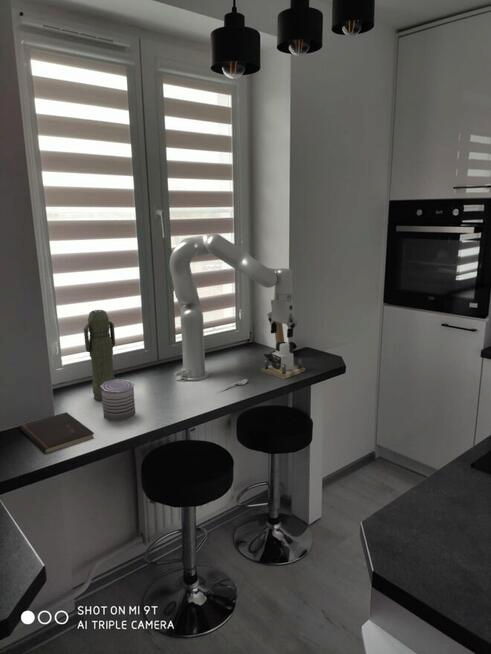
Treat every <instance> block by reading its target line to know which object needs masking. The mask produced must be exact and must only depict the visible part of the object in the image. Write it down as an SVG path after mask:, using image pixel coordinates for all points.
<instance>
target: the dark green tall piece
mask: <svg viewBox="0 0 491 654" xmlns="http://www.w3.org/2000/svg"><path fill="white" fill-rule="evenodd" d="M83 335H84V336H83V337H84V345H85V351H86V352H87V353H89V357H90V360H91V368H92V370H91V371H92V385H91V386H92V393H93V399H94V400H95V401H97V402H102V391H101V389H102V388H101V387H100V386H101V385H102V384H103V383H104V382H105V381H110V380H115V379H116V377H115V375H114V363H113V355H114V350H113V348H114V347H115V346H116V337H115V336H116V335H115V325H114V323H113V322H112V321H111V320H110V321H109V315H108V313H107V311H106V310H104V309H95V310H92V311H90V312H89V314H88V318H87V323H86V324H85V326H84V328H83Z"/></svg>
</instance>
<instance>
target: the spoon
mask: <svg viewBox="0 0 491 654" xmlns="http://www.w3.org/2000/svg"><path fill="white" fill-rule="evenodd" d="M247 383H248V379H247V378H244V379H241V380H239V381H236V382H234V383H231V384H230V385H227V386H226V387H223V388H222V389H219V390H217V391H216V392H215V394H220V393H222V392H225V391H226V390H227V389H230V388H231V387H232V386H234V385H238V386H244V385H246V384H247Z"/></svg>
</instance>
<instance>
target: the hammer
mask: <svg viewBox="0 0 491 654" xmlns="http://www.w3.org/2000/svg"><path fill="white" fill-rule="evenodd" d="M273 300H274V299H272V300H270V307H271V308H272V305H273ZM276 324H277V332H276V333H274V336H275V337H274V338H275V345H276V344H277V343H278V342H285V335H284V328H283V327H284V325H283V323H279V322H276ZM288 343H289V352H290V353H292V354H294V350H296V349H297V344H296V343H295V342H293V341H290V342H288ZM274 352H276V349H275V350H273V351H271V352H269V353H268V354H267V353H263V355H264V357H265V358H266V359H267V360H271V361H272V353H274Z"/></svg>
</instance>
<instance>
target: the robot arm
mask: <svg viewBox="0 0 491 654" xmlns="http://www.w3.org/2000/svg"><path fill="white" fill-rule="evenodd" d="M210 254H211V255H213V256H215V258H217V259H219V260H220V261H222V262H224V263H226V265H228V266H230V267H231V268H233V269H234V270H235V271H238V272H239V273H241V274H243V275H245V276H246V277H248V278H250V279H251V280H253V281H254V282H256V283H257V284H259V285H261V286H262V287H264V288H266V289H267V288H268V289H270V288H272V287H274V296H273V297H274V299H272V300H273V305H272V307H271V311H270V312H269V313H267V317H268V320H267V321H269V324H270V334H273V335H274V334H275V333H276V332H277V324H276V322H279V323H282V325H283V324H284V325H286V326H287V331H286V338H287V339H289V338H292V337H293V336H294V329H295V327H297V324H298V322H299V319H298V318H296V316H295V306H294V305H295V304H294V301H293V298H294V296H293V294H292V293H293V270H292V269H290V268H285V267H284V268H270V267H267V266H266V265H264V264H262V263H261V262H260V261H258V260H256V259H255V258H254V257H252V256H251V255H250V254H249V252H247V251H245V250H244V249H242V248H241V247H239V246H237V245H236V244H234V243H233V242H231V241H230V240H228V239H227V238H225V237H224V236H222V235H220V234H219V233H215V232H214V233H209V234H203V235H198V236H192V237H187V238H184V239H182V240H181V241H180V242H179V244H178V245H177V246H175V248H173V251H172V252H171V255H170V257H169V270H170V275H171V279H172V285H173V289H174V295H175V298H176V299H177V302H178V303H177V304H178V307H179V311H180V332H181V345H182V346H181V347H182V367H181V369H180V370H178V371H175V372H174V373H173V375H174V377H180V379H181V380H184V381H190V382H191V381H193V382H194V381H202V380H205V379H207V378H208V377H209V375H210V373H209V372H208V370H206V364H205V361H206V360H205V337H204V314H203V308H202V305H201V301H200V297H199V292H198V288H197V286H196V283H195V282H194V278H193V272H192V269H191V262H192V261H193V259H195V258H196V257H199V256H205V255H210Z"/></svg>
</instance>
